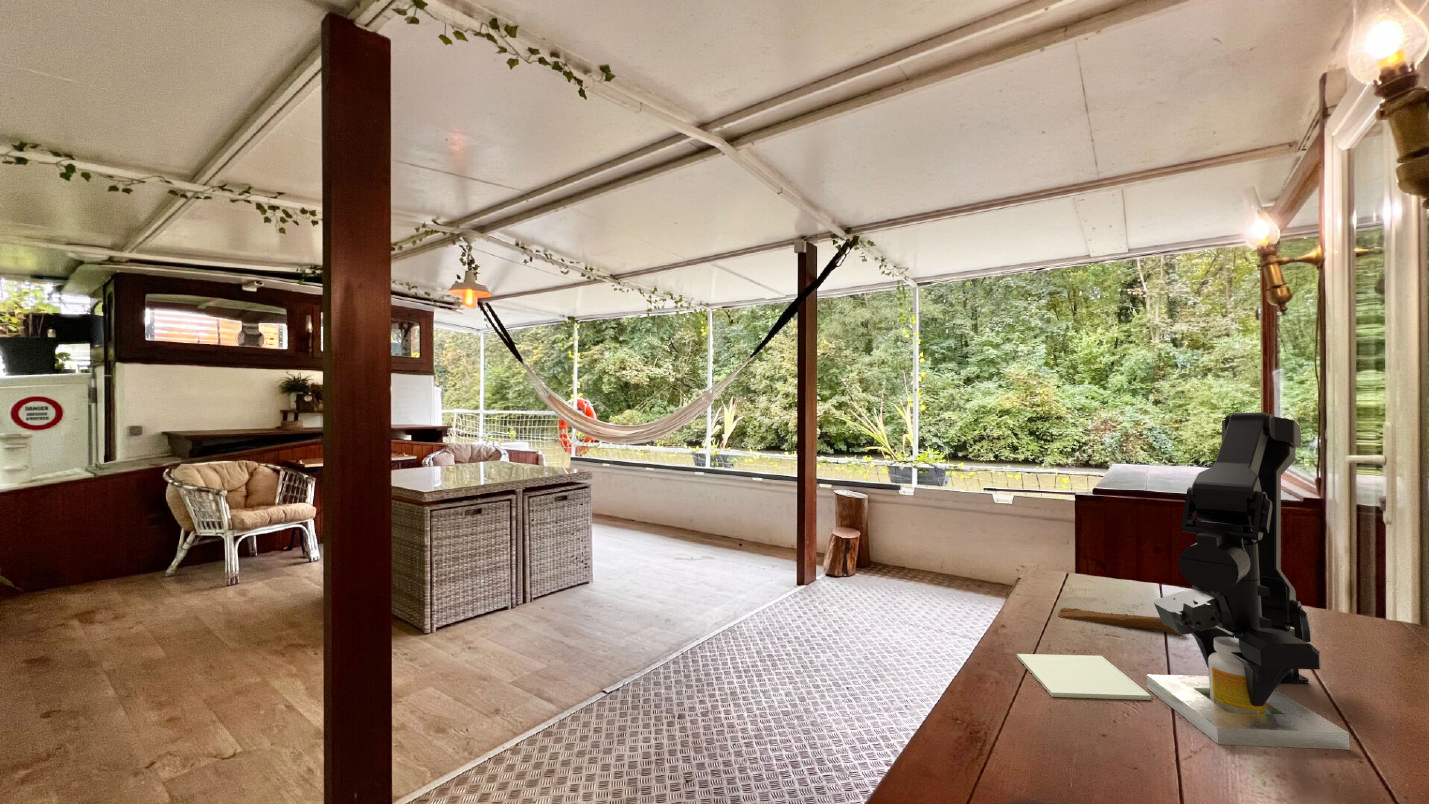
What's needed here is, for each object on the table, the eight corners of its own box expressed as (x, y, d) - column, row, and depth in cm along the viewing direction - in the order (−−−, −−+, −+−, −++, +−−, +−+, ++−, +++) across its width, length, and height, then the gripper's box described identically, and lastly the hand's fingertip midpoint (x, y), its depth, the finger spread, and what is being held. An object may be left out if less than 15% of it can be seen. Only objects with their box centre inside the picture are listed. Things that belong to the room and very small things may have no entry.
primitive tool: (1057, 619, 111) (1056, 601, 111) (1060, 611, 115) (1060, 593, 115) (1183, 640, 99) (1182, 620, 99) (1182, 631, 103) (1181, 611, 104)
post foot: (1254, 691, 81) (1253, 677, 81) (1349, 749, 67) (1348, 732, 67) (1147, 688, 83) (1146, 674, 83) (1218, 744, 69) (1217, 727, 69)
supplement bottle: (1275, 730, 71) (1271, 653, 71) (1221, 723, 73) (1217, 647, 73) (1253, 708, 76) (1249, 636, 76) (1203, 702, 78) (1199, 632, 78)
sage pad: (1101, 659, 92) (1101, 655, 92) (1150, 699, 79) (1150, 695, 79) (1017, 657, 94) (1016, 653, 94) (1052, 696, 81) (1051, 692, 81)
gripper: (1123, 556, 85) (1129, 660, 85) (1213, 597, 67) (1221, 729, 67) (1205, 556, 84) (1211, 662, 83) (1320, 598, 65) (1329, 733, 65)
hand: (1236, 692), depth 75 cm, fingers open, 6 cm apart
